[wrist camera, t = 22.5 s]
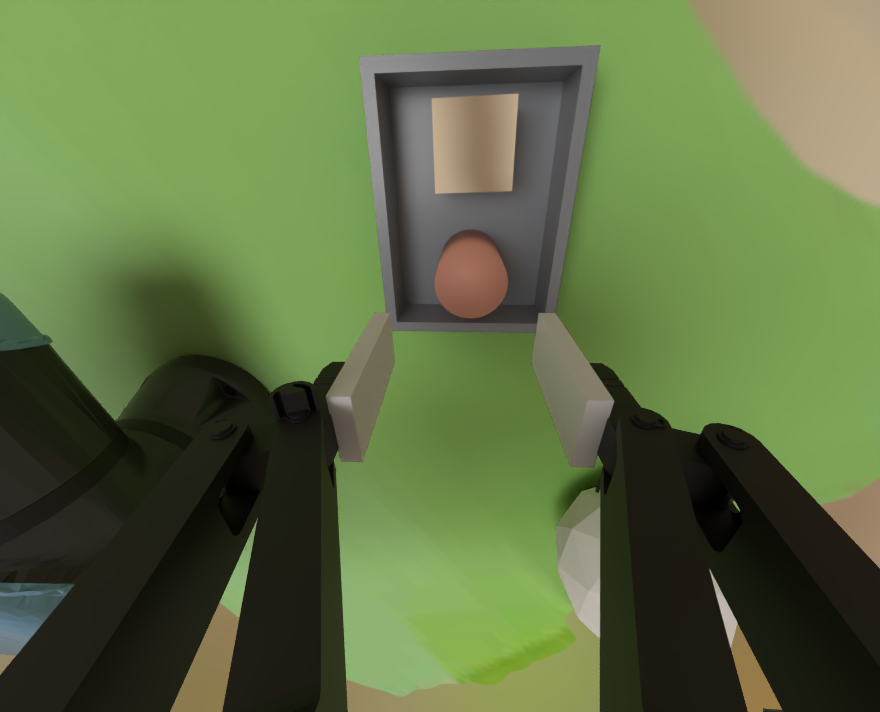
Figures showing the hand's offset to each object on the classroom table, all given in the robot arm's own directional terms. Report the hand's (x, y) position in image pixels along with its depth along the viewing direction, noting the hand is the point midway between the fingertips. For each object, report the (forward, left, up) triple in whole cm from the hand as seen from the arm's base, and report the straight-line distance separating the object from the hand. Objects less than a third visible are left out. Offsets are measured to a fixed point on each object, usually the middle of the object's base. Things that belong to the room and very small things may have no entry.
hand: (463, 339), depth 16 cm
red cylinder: (+1, 0, -15) cm, 15 cm away
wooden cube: (0, +8, -15) cm, 17 cm away
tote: (+1, +4, -16) cm, 16 cm away
